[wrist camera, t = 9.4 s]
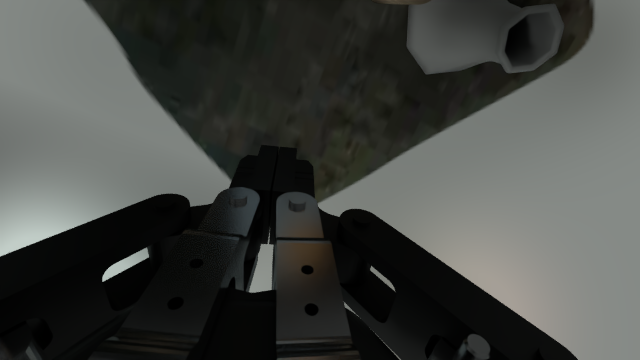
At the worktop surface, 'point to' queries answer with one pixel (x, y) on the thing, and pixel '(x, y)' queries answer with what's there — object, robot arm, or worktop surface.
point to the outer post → (402, 1)
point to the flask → (482, 34)
